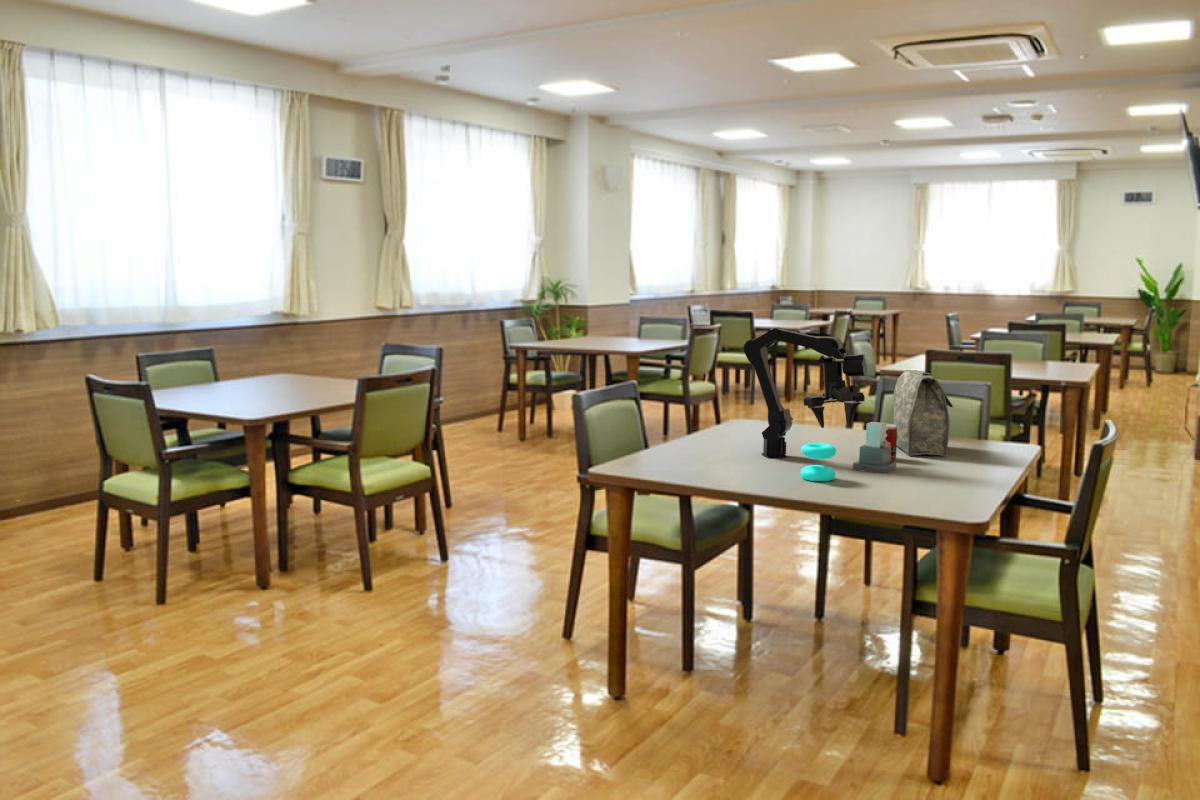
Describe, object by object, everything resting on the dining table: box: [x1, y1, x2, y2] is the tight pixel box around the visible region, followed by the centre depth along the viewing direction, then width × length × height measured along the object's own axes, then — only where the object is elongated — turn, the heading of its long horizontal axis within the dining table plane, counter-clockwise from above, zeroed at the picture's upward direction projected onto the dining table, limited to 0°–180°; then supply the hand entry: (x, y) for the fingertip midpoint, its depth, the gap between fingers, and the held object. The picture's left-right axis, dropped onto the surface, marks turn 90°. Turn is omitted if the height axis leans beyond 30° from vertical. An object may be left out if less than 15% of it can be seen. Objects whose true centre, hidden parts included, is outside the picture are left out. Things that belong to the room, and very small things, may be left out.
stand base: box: [852, 442, 898, 474], centre depth 297 cm, size 10×10×8 cm
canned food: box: [886, 423, 898, 461], centre depth 313 cm, size 8×8×11 cm
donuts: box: [800, 442, 837, 482], centre depth 283 cm, size 10×10×10 cm
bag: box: [892, 369, 954, 457], centre depth 326 cm, size 22×16×27 cm
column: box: [865, 421, 887, 448], centre depth 297 cm, size 5×4×12 cm
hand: (835, 426), depth 307 cm, fingers open, 9 cm apart
